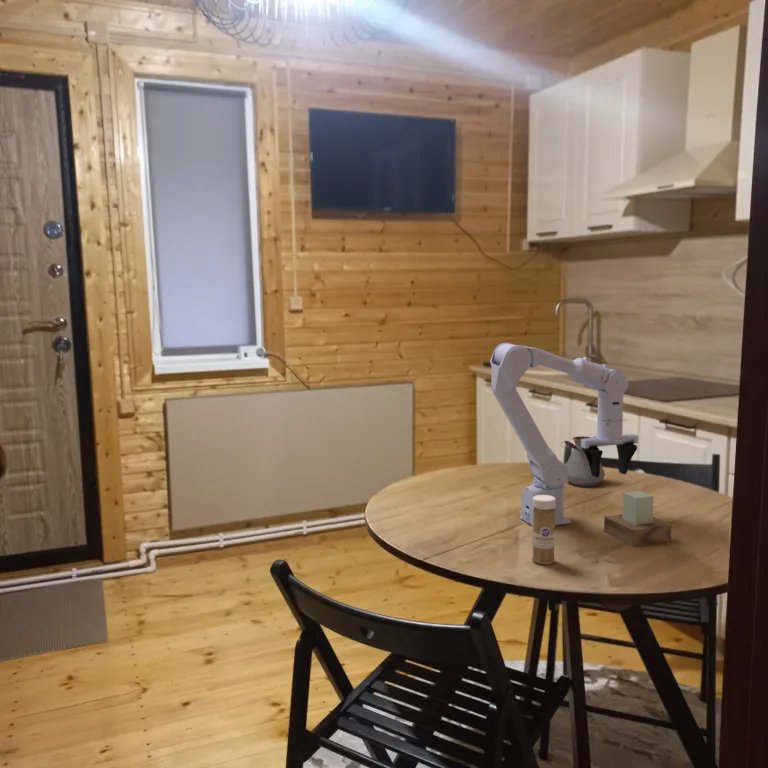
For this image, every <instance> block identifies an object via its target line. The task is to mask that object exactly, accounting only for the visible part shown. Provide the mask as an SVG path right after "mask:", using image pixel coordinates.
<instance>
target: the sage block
mask: <svg viewBox="0 0 768 768" xmlns="http://www.w3.org/2000/svg"><path fill="white" fill-rule="evenodd" d="M622 493H623V494H622V514H623V518H622V519H624V520H626V521H628V522H630V523H632V524H634V525H639V524H646V523H653V517H654V495H652V494H648V493H646V492H644V491H641V490H635V491H627V492H622Z"/></svg>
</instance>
